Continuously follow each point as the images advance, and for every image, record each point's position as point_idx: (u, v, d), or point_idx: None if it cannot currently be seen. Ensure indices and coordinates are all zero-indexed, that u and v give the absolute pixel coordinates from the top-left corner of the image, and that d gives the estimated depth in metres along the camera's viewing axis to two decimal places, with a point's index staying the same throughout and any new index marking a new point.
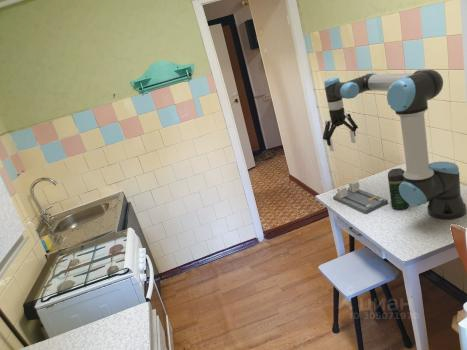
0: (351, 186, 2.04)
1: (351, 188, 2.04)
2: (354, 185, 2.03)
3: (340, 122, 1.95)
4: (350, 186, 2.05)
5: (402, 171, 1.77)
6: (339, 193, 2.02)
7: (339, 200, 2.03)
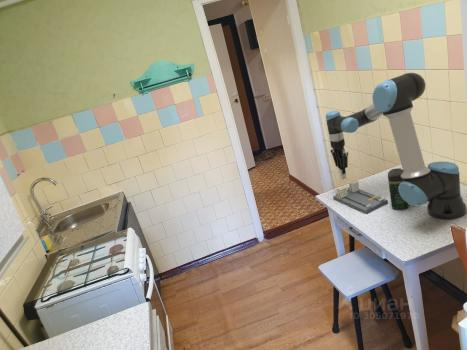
0: (351, 186, 2.04)
1: (351, 188, 2.04)
2: (354, 185, 2.03)
3: None
4: (350, 186, 2.05)
5: (402, 171, 1.77)
6: (339, 193, 2.02)
7: (339, 200, 2.03)
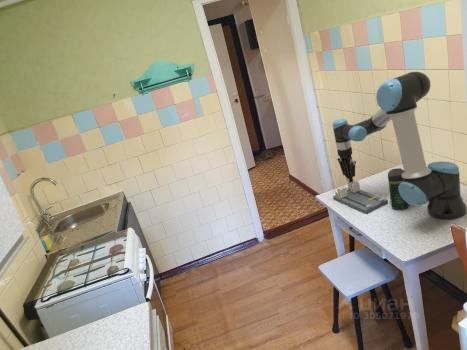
0: (352, 186, 2.03)
1: (352, 188, 2.04)
2: (355, 185, 2.02)
3: None
4: (351, 186, 2.04)
5: (402, 171, 1.77)
6: (339, 193, 2.02)
7: (339, 200, 2.03)
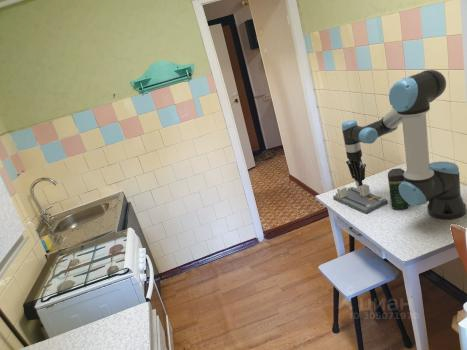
0: (361, 190, 1.96)
1: (361, 192, 1.97)
2: (364, 189, 1.96)
3: None
4: (360, 190, 1.97)
5: (402, 171, 1.77)
6: (339, 193, 2.02)
7: (339, 200, 2.03)
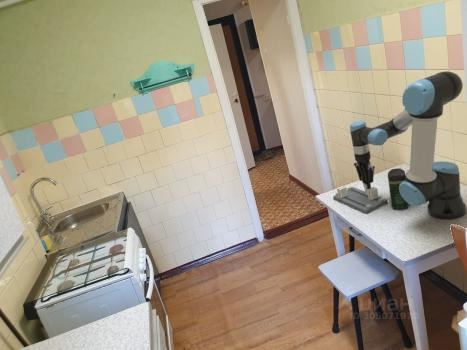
0: (370, 193, 1.91)
1: (369, 195, 1.91)
2: (373, 192, 1.90)
3: None
4: (368, 193, 1.92)
5: (402, 171, 1.77)
6: (339, 193, 2.02)
7: (339, 200, 2.03)
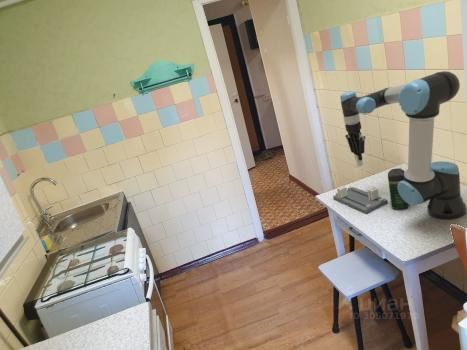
0: (370, 193, 1.90)
1: (370, 195, 1.91)
2: (373, 192, 1.90)
3: None
4: (369, 193, 1.91)
5: (402, 171, 1.77)
6: (339, 193, 2.02)
7: (339, 200, 2.03)
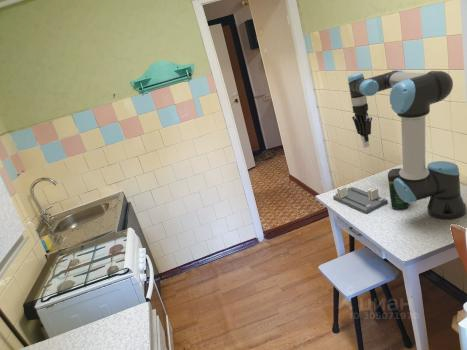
0: (370, 193, 1.90)
1: (370, 195, 1.91)
2: (373, 192, 1.90)
3: None
4: (369, 193, 1.91)
5: None
6: (339, 193, 2.02)
7: (339, 200, 2.03)
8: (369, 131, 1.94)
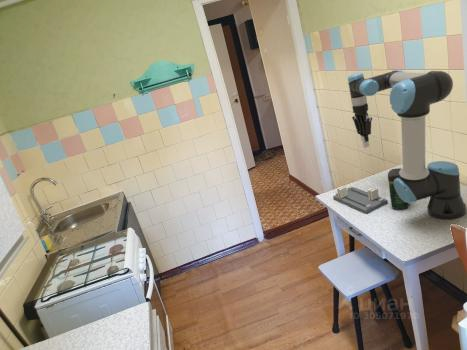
0: (370, 193, 1.90)
1: (370, 195, 1.91)
2: (373, 192, 1.90)
3: None
4: (369, 193, 1.91)
5: None
6: (339, 193, 2.02)
7: (339, 200, 2.03)
8: (369, 131, 1.94)
